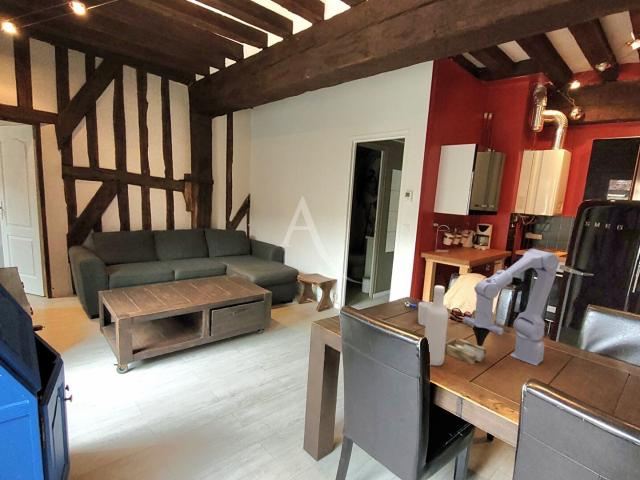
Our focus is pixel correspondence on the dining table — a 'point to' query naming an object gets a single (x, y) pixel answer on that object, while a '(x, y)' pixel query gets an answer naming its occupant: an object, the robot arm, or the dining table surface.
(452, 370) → the dining table surface
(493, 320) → the ceramic model
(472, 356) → the u rest
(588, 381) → the dining table surface
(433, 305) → the bottle
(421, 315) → the white cup
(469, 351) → the bottle
